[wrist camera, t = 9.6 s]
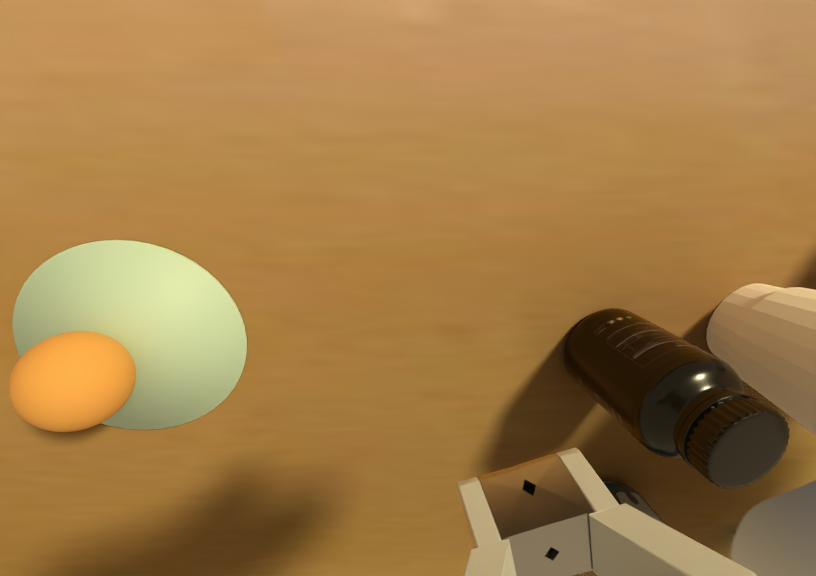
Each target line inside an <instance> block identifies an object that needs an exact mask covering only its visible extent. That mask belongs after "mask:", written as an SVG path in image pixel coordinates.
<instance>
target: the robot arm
mask: <svg viewBox="0 0 816 576" xmlns="http://www.w3.org/2000/svg"><path fill="white" fill-rule="evenodd" d="M457 485H458V489H459V493H460V497H461V501H462V505H463V509H464V513H465V517H466V520H467V524H468V528H469V532H470V536H471V539H472V542H473V546H474V549H471V550H470V554H469V558H468V562H467V565H466V569H465V573H464V576H573V575H577V574H581V573H584V572H588V571H592V570H593V573H595V574H596V575H597V576H757V575H756V574H755V573H754V572H752V571H750V570H748V569H746V568H745V567H743V566H741V565H739V564H737V563H735V562H733V561H732V560H730V559H728V558H726V557H724V556H722V555H721V554H719V553H717V552H715V551H713V550H711V549H709V548H708V547H706V546H704V545H702V544H700V543H698V542H696V541H695V540H693V539H691V538H689V537H687V536H685V535H684V534H682V533H680V532H678V531H676V530H674V529H672V528H671V527H669V526H667V525H665V524H663V523H661V522H660V521H658V520H656V519H654V518H652V517H650V516H648V515H647V514H645V513H643V512H641V511H639V510H637V509H635V508H634V507H632V506H630V505H628V504H626V503H624V504H621V505H619V504H618V502H617V501H616V500H615V498H614V497H613V496H612V494H611V493H610V491H609V490H608V489H607V487H606V486H605V485H604V483H603V482H602V480H601V479H600V478H599V476H598V475H597V474H596V472H595V471H594V469H593V468H592V467H591V465H590V464H589V463H588V461H587V460H586V459H585V457H584V456H583V454H582V453H581V452H580V450H578V449H577V448H572V449H568V450H565V451H562V452H558V453H555V454H554V453H553V454H550V455H547V456H544V457H540V458H537V459H534V460H531V461H528V462H524V463H521V464H518V465H516V466H514V467H510V468H506V469H502V470H498V471H495V472H491V473H487V474H483V475H479V476H478V477H477V476H476V477H473V478H469V479H465V480H462V481H458V482H457Z"/></svg>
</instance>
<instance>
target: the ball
mask: <svg viewBox="0 0 816 576" xmlns="http://www.w3.org/2000/svg"><path fill="white" fill-rule="evenodd" d="M135 381H136V367H135V363H134V360H133V358H132V356H131V355H130V353H129V351H128V350H127V349H126V348H125V347H124V346H123V345H122V344H121V343H119V342H118V341H117V340H115V339H113V338H111V337H109V336H107V335H103V334H100V333H96V332H89V331H75V332H67V333H62V334H58V335H55V336H52V337H50V338H47V339H45V340H43V341H41V342H39V343H38V344H36V345H35V346H33V347H32V348H31V349H29V350H28V351H27V352H26V353H25V354H24V355H23V356H22V357H21V358H20V359H19V361H18V362H17V363H16V365H15V367H14V368H13V370H12V373H11V375H10V379H9V384H8V394H9V399H10V402H11V404H12V406H13V408H14V410H15V411H16V413H17V414H18V415H19V416H20V417H21V418H22V419H23V420H25V421H26V422H28V423H29V424H31V425H33V426H35V427H38V428H40V429H44V430H48V431H54V432H72V431H79V430H83V429H87V428H90V427H92V426H95V425H98V424H100V423H102V422H104V421H105V420H107V419H108V418H110V417H111V416H113V415H114V414H115V413H116V412H118V411H119V410H120V409H121V408H122V407H123V406H124V404H125V403H126V402H127V400H128V399H129V397H130V395H131V394H132V391H133V388H134V386H135Z"/></svg>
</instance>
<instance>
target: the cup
mask: <svg viewBox="0 0 816 576" xmlns="http://www.w3.org/2000/svg"><path fill="white" fill-rule="evenodd" d="M706 340H707V344H708V348H709V349H710V351H711V352H712V354H714V355H715V356H717V357H718V358H719V359H721V360H723V361H724V362H726V363H727V364H729V365H730V366H731V367H732V368H733V369H734V370H735V371H736V373H737V374H738V376H739V377H740V379H741V380H743V381H744V382H745V383H747V384H748V385H749V386H751V387H752V388H753V389H755V390H756V391H757V392H759V393H760V394H761V395H762V396H764V397H765V398H766V399H768V400H769V401H770V402H772V403H773V404H774V405H776V406H777V407H778V408H780V409H781V410H782V411H784V412H785V413H786V414H787V415H789V416H790V417H791V418H793V419H794V420H795V421H797V422H798V423H799V424H801V425H802V426H803V427H805V428H806V429H807V430H808V431H810V432H811V433H812V434H814V435H815V436H816V290H814V289H808V288H802V287H792V288H786V289H785V288H780V287H775V286H771V285H766V284H750V285H747V286H743V287H741V288H739V289H737V290H736V291H734V292H732V293H731V294H730V295H728V296H727V297H726V298H725V299H724V300H723V301H722V302H721V303H720V304H719V306H718V307H717V308H716V309H715V311H714V313H713V315H712V316H711V318H710V321H709V324H708V327H707V335H706Z"/></svg>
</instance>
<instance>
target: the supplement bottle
mask: <svg viewBox="0 0 816 576" xmlns="http://www.w3.org/2000/svg"><path fill="white" fill-rule="evenodd" d="M565 364H566V368H567V370H568V372H569V374H570V376H571V377H572V378H573V379H574V380H575V381H576V382H577V383H578V384H579V385H580V386H581V387H582V388H583V389H584V390H585V391H586V392H587V393H588V394H589V395H590V396H591V397H592V398H593V399H594V400H596V401H597V402H598V403H599V404H600V405H601V406H602V407H603V408H604V409H605V410H606V411H607V412H608V413H609V414H610V415H612V416H613V417H614V418H615V419H616V420H617V421H618V422H619V423H620V424H621V425H622V426H623V427H624V428H625V429H626V430H628V431H629V432H630V433H631V434H632V435H633V436H634V437H635V438H636V439H637V440H638V441H639V442H640V443H641V444H643V445H644V446H645V447H646V448H647V449H649V450H650V451H652V452H654V453H656V454H658V455H660V456H663V457H667V458H673V459H683V460H684V461H685V462H687V463H688V464H689V465H690V466H691V467H693V468H694V469H696V470H698V471H699V472H700V473H701V474H702V475H704V476H705V477H706V478H707V479H708V480H709V481H711V482H712V483H714V484H716V485H717V486H719V487H723V488H731V489H733V488H740V487H742V486H747V485H749V484H750V483H753V482H755V481H757V480H758V479H760V478H762V477H763V476H764V475H765V474H766V473H768V472H769V471H770V470H771V469H772V468H773V467H774V466H775V465H776V464H777V462H778V461H779V460H780V459H781V457H782V455H783V453H784V452H785V450H786V446H787V445H788V439H789V428H788V423H787V422H786V421H785V419H784V418H783V417H782V416H781V415H780V414H778V413H777V412H776V411H774V410H772V409H771V408H769V407H767V406H765V405H764V404H762V403H760V402H759V401H758V400H757V399H756V398H754V397H752V396H750V395H749V394H747V393H745V390H744V386H743V383H742V381H741V379H740V377H739V376H738V374H737V373H736V371H735V370H734V369H733V368H732V367H731V366H730V365H729V364H727V363H726V362H724V361H723V360H721V359H719V358H717V357H716V356H714V355H712V354H710V353H708V352H706V351H704V350H702V349H701V348H699V347H697V346H695V345H693V344H691V343H689V342H687V341H685V340H683V339H682V338H680V337H678V336H676V335H674V334H672V333H670V332H668V331H666V330H664V329H663V328H661V327H659V326H657V325H655V324H653V323H651V322H649V321H647V320H645V319H644V318H642V317H640V316H638V315H636V314H634V313H632V312H629V311H627V310H623V309H615V308H612V309H605V310H601V311H598V312H596V313H593V314H591V315H590V316H588V317H587V318H585V319H584V320H583V321H581V322H580V323H579V324H578V325H577V327H576V328H575V329H574V330H573V332H572V333H571V335H570V337H569V339H568V342H567V345H566V349H565Z"/></svg>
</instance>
